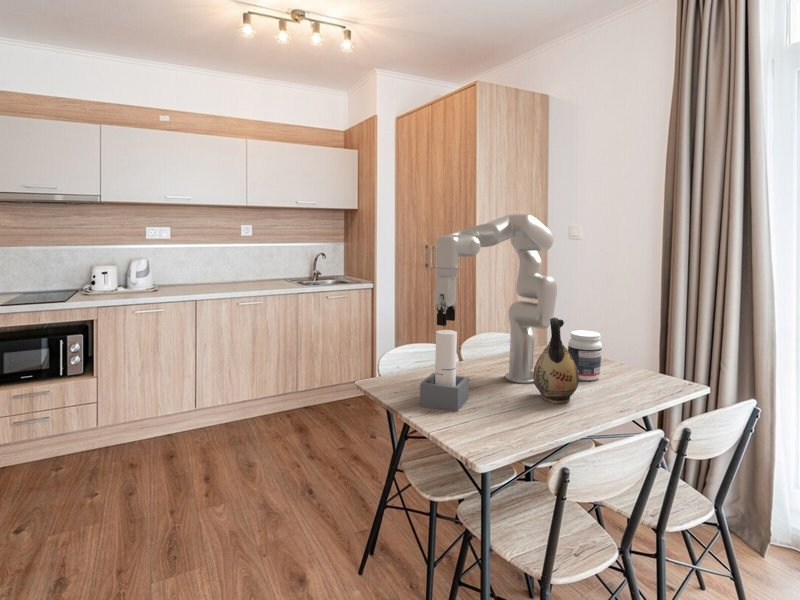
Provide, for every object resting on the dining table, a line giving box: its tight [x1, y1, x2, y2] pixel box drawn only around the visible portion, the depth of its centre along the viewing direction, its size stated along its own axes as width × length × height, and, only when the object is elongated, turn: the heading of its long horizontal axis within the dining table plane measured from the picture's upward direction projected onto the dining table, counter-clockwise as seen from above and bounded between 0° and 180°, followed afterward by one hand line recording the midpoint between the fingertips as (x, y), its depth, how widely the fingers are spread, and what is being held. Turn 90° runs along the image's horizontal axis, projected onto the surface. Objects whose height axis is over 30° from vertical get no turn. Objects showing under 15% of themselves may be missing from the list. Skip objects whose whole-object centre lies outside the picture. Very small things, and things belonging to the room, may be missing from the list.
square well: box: [419, 372, 470, 412], centre depth 170 cm, size 13×13×8 cm
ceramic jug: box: [533, 317, 580, 404], centre depth 172 cm, size 17×15×30 cm
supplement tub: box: [567, 329, 603, 382], centre depth 199 cm, size 13×13×18 cm
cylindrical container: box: [434, 329, 458, 387], centre depth 169 cm, size 7×7×25 cm
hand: (446, 322), depth 167 cm, fingers open, 9 cm apart
